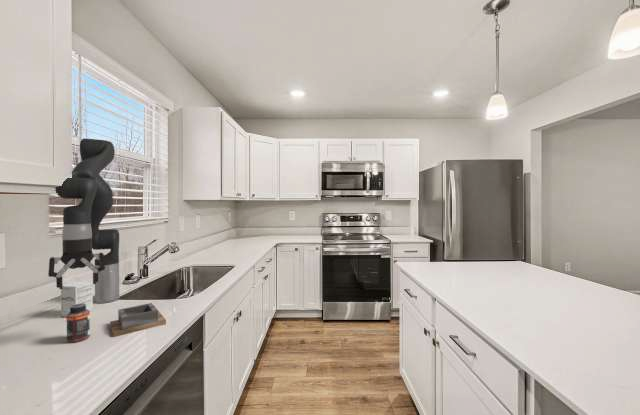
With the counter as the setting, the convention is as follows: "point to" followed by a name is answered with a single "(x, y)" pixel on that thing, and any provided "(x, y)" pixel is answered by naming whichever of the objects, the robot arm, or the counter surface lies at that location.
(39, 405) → the counter surface
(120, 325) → the socket stand
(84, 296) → the supplement box
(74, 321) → the supplement bottle
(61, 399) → the counter surface
